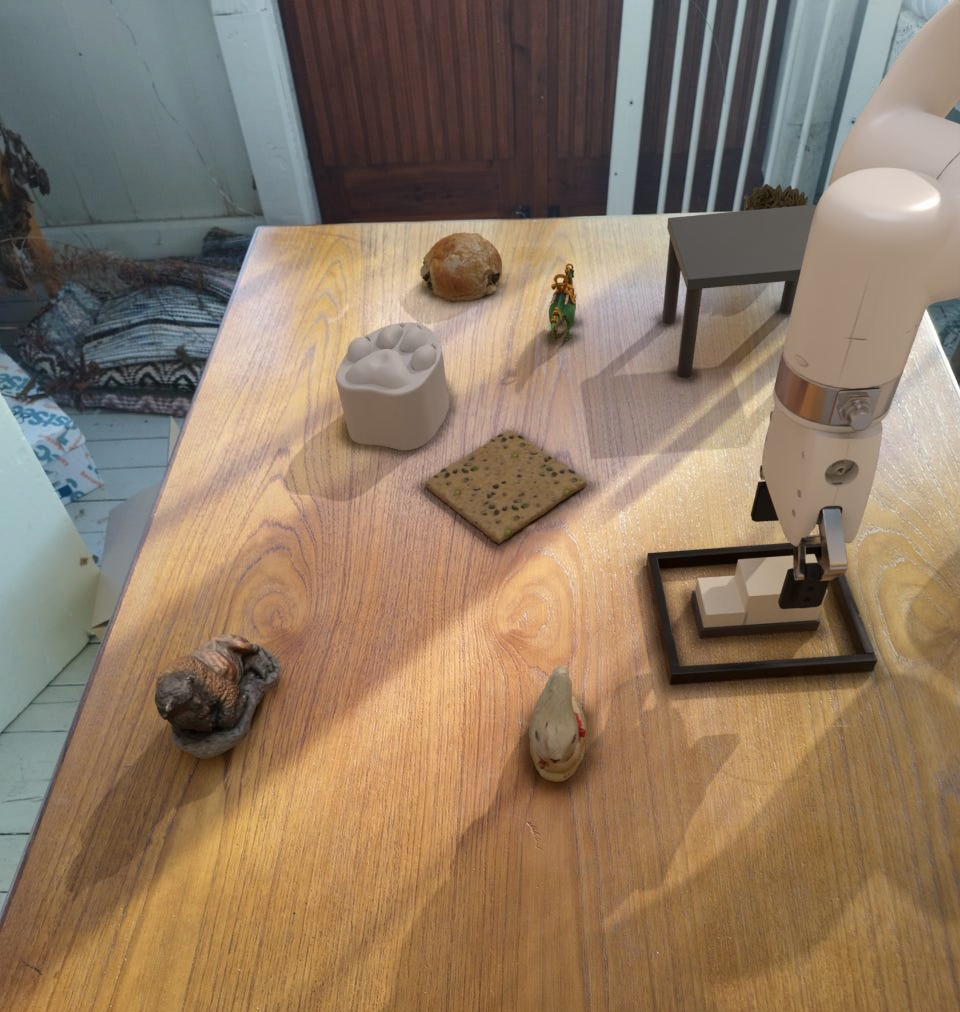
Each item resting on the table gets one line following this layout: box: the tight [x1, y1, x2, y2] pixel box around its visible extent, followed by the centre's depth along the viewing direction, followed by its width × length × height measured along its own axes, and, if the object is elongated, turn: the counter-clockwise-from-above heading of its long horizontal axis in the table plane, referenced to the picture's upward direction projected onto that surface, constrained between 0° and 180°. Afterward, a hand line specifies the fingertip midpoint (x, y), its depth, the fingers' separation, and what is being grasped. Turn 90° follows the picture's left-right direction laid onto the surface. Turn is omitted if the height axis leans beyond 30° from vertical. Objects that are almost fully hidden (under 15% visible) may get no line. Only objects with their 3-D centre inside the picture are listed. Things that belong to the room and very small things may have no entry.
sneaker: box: [690, 554, 829, 639], centre depth 74 cm, size 10×4×5 cm, turn 91°
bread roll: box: [419, 231, 503, 302], centre depth 112 cm, size 10×10×8 cm
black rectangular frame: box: [646, 542, 878, 685], centre depth 76 cm, size 17×14×2 cm
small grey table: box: [661, 204, 816, 379], centre depth 96 cm, size 16×13×12 cm
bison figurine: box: [154, 633, 282, 760], centre depth 70 cm, size 12×7×10 cm, turn 168°
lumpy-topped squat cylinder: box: [334, 321, 450, 451], centre depth 95 cm, size 10×13×9 cm
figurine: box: [548, 263, 578, 341], centre depth 101 cm, size 3×12×8 cm, turn 166°
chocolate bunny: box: [528, 664, 588, 783], centre depth 66 cm, size 6×8×10 cm
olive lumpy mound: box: [743, 183, 809, 211], centre depth 108 cm, size 8×7×8 cm
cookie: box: [424, 429, 587, 545], centre depth 88 cm, size 12×12×1 cm
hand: (783, 560), depth 70 cm, fingers open, 9 cm apart
